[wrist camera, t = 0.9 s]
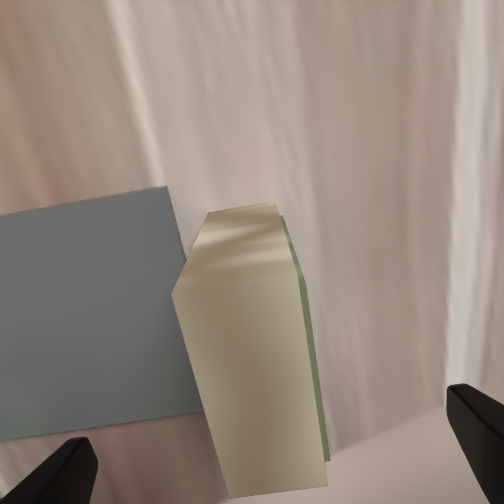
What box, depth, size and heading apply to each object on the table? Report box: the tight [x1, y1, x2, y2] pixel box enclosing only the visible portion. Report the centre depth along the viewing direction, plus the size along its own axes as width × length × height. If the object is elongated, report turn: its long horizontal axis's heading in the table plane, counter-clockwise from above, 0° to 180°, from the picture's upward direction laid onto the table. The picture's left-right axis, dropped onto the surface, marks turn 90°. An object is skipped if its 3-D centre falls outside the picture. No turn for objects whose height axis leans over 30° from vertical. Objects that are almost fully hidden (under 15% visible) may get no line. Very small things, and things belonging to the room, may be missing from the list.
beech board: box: [171, 201, 330, 499], centre depth 13 cm, size 3×7×8 cm, turn 10°
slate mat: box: [0, 185, 205, 441], centre depth 18 cm, size 14×12×1 cm
